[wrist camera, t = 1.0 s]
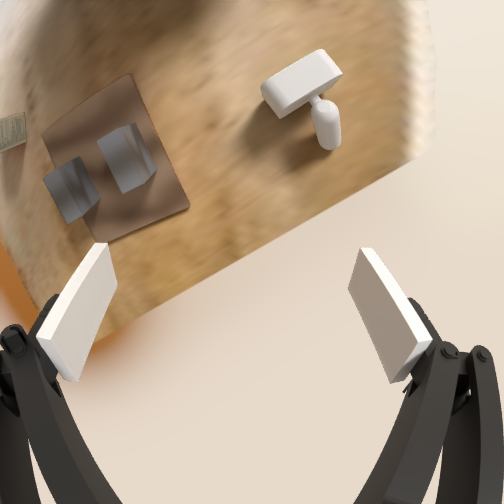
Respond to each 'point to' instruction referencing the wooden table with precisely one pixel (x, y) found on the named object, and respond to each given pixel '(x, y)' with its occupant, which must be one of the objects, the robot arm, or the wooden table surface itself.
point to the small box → (12, 131)
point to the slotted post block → (111, 164)
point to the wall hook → (307, 94)
